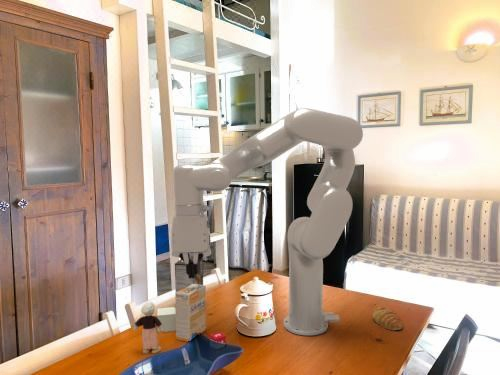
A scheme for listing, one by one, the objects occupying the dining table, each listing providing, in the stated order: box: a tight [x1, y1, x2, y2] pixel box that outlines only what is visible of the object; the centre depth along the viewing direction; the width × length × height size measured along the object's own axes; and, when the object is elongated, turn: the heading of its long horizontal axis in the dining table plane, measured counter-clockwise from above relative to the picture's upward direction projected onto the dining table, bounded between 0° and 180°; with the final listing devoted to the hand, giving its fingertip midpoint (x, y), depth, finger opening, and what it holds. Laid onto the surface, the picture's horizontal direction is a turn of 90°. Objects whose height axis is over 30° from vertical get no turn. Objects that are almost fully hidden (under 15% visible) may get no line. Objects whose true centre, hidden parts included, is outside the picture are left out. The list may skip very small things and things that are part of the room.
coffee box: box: [174, 255, 204, 293], centre depth 121 cm, size 9×6×16 cm
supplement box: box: [174, 284, 207, 343], centre depth 103 cm, size 8×5×13 cm, turn 154°
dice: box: [209, 331, 227, 344], centre depth 97 cm, size 3×3×3 cm
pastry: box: [372, 306, 403, 331], centre depth 109 cm, size 9×7×4 cm
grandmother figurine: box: [133, 301, 165, 354], centre depth 95 cm, size 8×4×13 cm, turn 98°
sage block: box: [156, 306, 176, 334], centre depth 108 cm, size 5×5×5 cm
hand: (192, 276), depth 102 cm, fingers closed
